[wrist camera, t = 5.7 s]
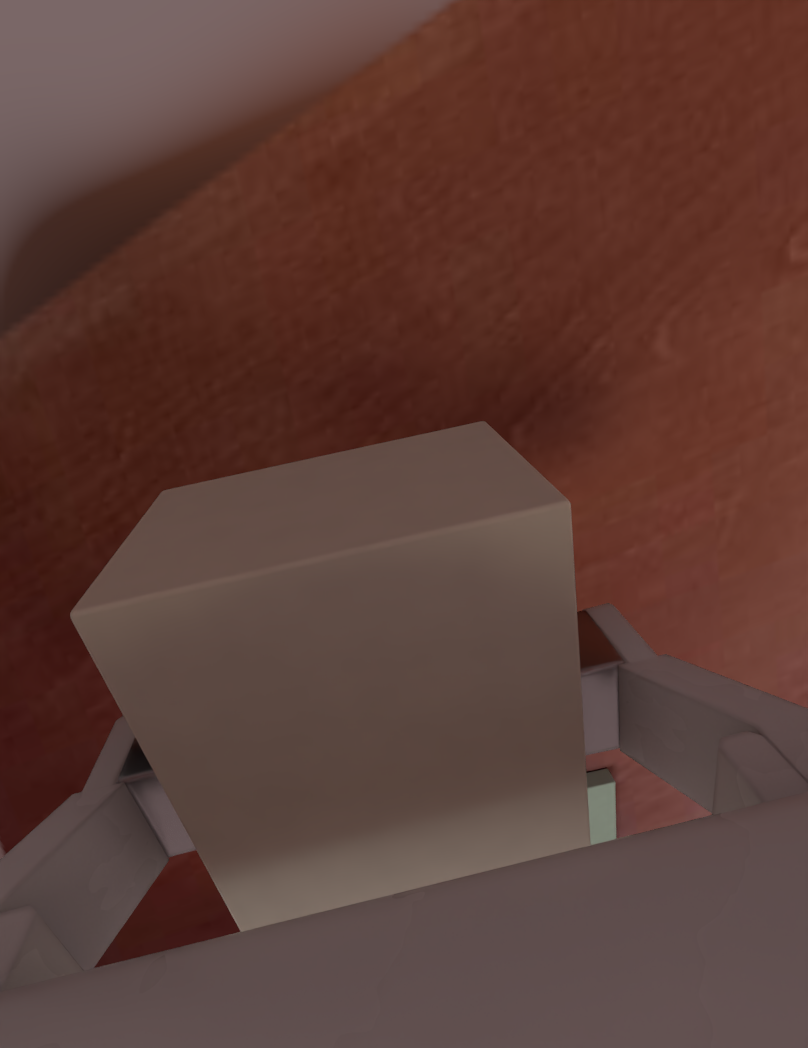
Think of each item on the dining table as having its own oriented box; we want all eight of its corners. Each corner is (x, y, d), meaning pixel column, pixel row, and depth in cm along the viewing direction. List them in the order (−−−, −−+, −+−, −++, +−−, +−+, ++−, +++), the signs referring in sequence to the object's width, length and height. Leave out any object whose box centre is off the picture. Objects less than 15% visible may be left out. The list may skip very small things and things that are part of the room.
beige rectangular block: (283, 792, 13) (267, 984, 10) (160, 489, 10) (65, 614, 6) (523, 734, 14) (595, 901, 10) (485, 419, 10) (572, 500, 6)
